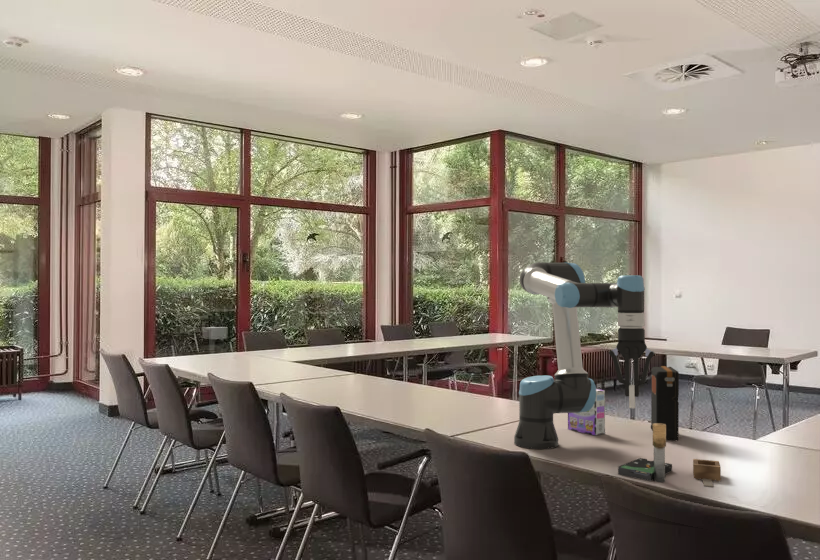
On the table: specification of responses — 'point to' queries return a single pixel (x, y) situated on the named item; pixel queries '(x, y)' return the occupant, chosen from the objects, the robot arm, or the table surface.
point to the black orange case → (665, 399)
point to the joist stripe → (707, 482)
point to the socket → (706, 469)
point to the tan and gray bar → (659, 451)
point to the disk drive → (641, 469)
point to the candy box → (590, 417)
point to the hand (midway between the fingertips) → (632, 407)
